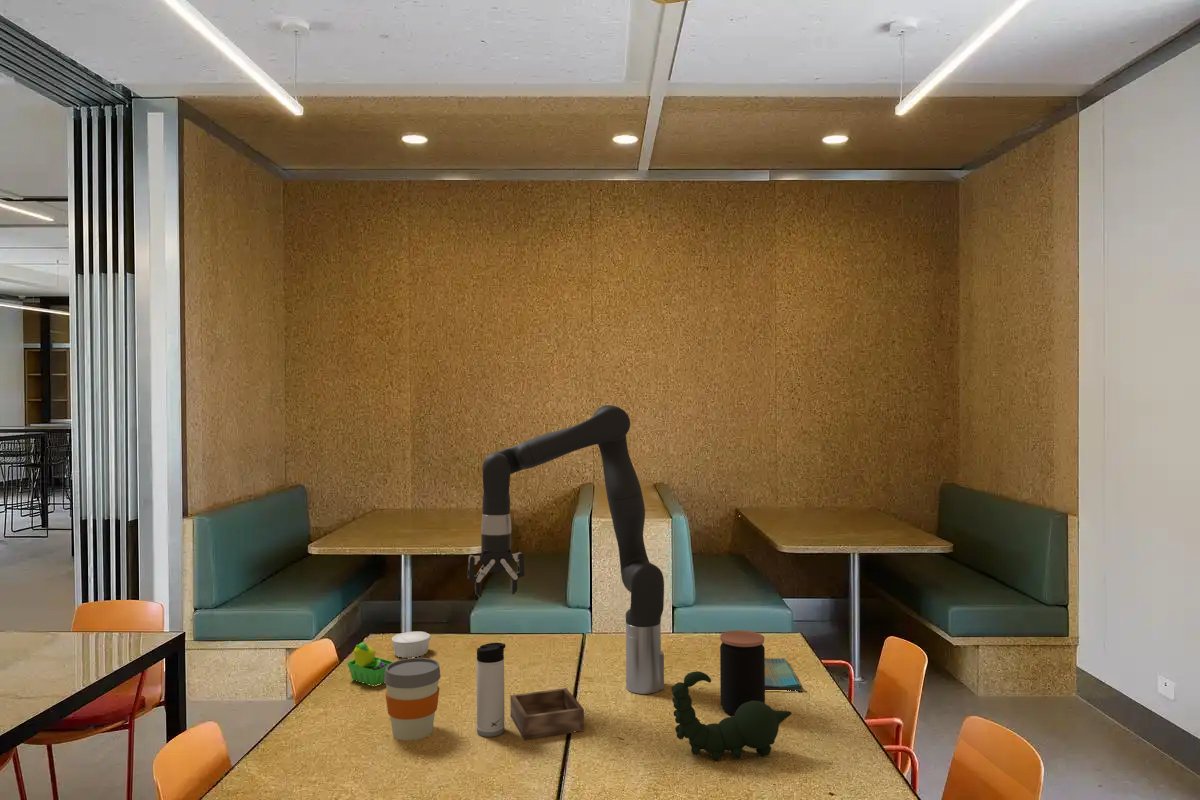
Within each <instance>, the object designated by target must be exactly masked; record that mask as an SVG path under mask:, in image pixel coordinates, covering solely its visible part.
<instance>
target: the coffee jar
mask: <svg viewBox="0 0 1200 800" xmlns="http://www.w3.org/2000/svg"><path fill="white" fill-rule="evenodd" d="M719 637H720V638H719V639H720V641H721V644H720V647H719V649H720V650H719V653H720V654H719V657H720V658H719V661H720V662H719V668H720V669H719V671H720V676H719V678H720V679H719V680H720V681H719V682H720V685H719V687H720V706H721V708H722V710H723V713H725V714H727V715H728V716H729V717H734V714H735V712H736V711H737V709H738V708H739V707H740V706H741V705H742V704H744V703H746V702H749V701H760V702H763V703H765V704H766V692H765V658H766V656H765V655H766V651H765V650H766V649H765V646H764V645H763V644H764V643H765V636H764V635H763V634H762V633H759V632H755V631H750V630H744V629H743V630H735V629H734V630H729V631H724V632H722V633H721V634H720V636H719Z"/></svg>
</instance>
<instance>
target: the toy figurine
mask: <svg viewBox="0 0 1200 800" xmlns="http://www.w3.org/2000/svg"><path fill="white" fill-rule="evenodd" d="M702 681H705V682H707V683H709V684H710V683H712V679H711V677H710V676H709V675H708V674H706V673H705V672H702V671H697V670H695V671H691V672H689V673H687V674H686V675H685V676H684V678H683V682H681V681H680V682H676V683H675V684H674V685H671V688H670V690H671V694H672V696H673V697H672V699H671V700H672V703H673V708H674V709H675V710H674V711H673V712H672V713H673V717H675V718H674V719H675V720H674V721H675V723H677V725H676V726H675V728H674V729H675V733H676V738H677V739H678V740H683V739H684V738H686V739H688V744H689V745H690V747H691V749H690V751H691V754H692V755H694V756H698V755H700V754H701V750H704V751H705V752H706V753H708V754H710V757H711V759H712V760H713V761H719V760H720V759H721V757H722V755H721V754H723V753H725V751H726V752H729V753H730V755H731V756H732V758H733V759H737V760H738V759H740V758H741V757H742V756H743V753H744V752H743V748H744V747H748V748H749V749H754V750H755V751H756V753H757V754H758V755H760V756H762V757H767V756H769V755H770V754H771V750H772V746H771V745H774V743H775V741H776V738H777V736H778V733H779V727H780V725H781V724H782V723H783V722H784V721H785V720H786V719H788V718H789V717H790V716H791V715H792V711H790V710H775V709H773V708H772V707H771V706H770V705H768V704H767V703H766V702H765V703H763V702H760V701H749V702H746V703H744V704H742V705H741V706H740V707H739V708H738V709H737V711H736V712H735V714H734V717H733V716H729V717H725V718H723V719H721V720H720V721H719V722H718V723H714V722H713V723H708V724H705V723H701V722H700V720H699V718H698V717H697V715H696V710H695V709H694V707H693V705H692V704H693V703H692V702H693V699H692V697H691V695H690V694H689V692H690V689H689V688H691V687H693V686H694V685H696V684H697V683H698V682H702Z"/></svg>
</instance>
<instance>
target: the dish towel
mask: <svg viewBox="0 0 1200 800" xmlns="http://www.w3.org/2000/svg"><path fill="white" fill-rule="evenodd" d="M802 688H803V685H802V684H801V683H800V682H799V680H798V678H797V675H796V674H795V672H794V671H793V670H792V668H791V666H790V664H789V662H788V661H787V660H786V658H785V657H781V658H769V657H767V658H766V657H765V690H787V691H788V690H789V691H790V690H791V691H795V690H796V691H800V692H801V691H802V690H801V689H802Z"/></svg>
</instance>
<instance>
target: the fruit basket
mask: <svg viewBox="0 0 1200 800" xmlns="http://www.w3.org/2000/svg"><path fill="white" fill-rule="evenodd" d="M353 653H354V659H352V660H349V661H347V662H346V664H347V667H348V669H349V673H350V676H351V680H352V679H353V680H357V681H360V682H364V683H366V684H370V685H374V686H375V685H377V684H380V683H383V682H384V678H385V669H386V667H387V665H389V664H391V663H393V662H394V661H392V660H388V659H385V658H380V657H375V655H376V650H375V649H374V648H372V647H371V646H368V644H367V643H365V642H360V643H359V644H356V645H355V648H354V649H353ZM353 680H352V681H353ZM364 683H363V684H364ZM366 684H365V685H366ZM383 684H384V683H383ZM370 685H369V686H370Z"/></svg>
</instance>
